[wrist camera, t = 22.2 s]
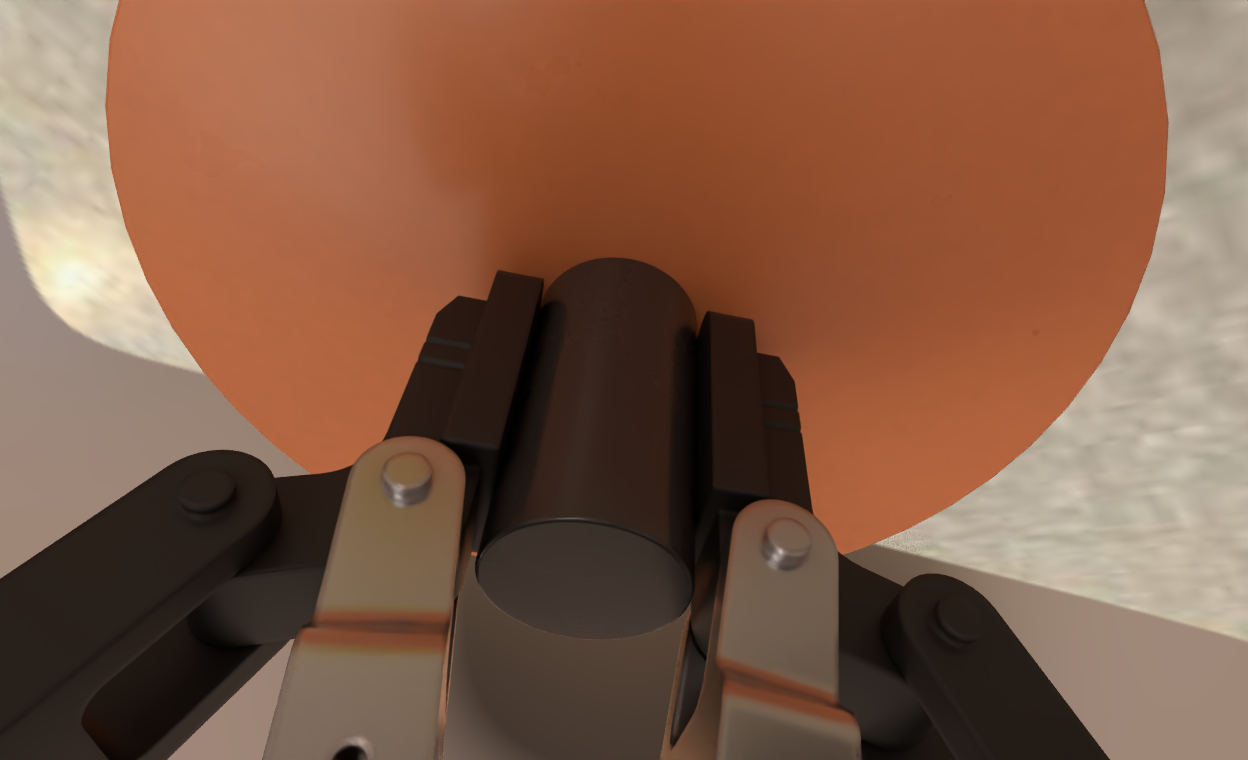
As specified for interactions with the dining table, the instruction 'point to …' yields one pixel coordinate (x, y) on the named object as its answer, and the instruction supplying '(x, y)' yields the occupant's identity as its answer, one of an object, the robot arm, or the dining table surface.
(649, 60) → the lid
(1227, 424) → the dining table surface
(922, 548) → the dining table surface
